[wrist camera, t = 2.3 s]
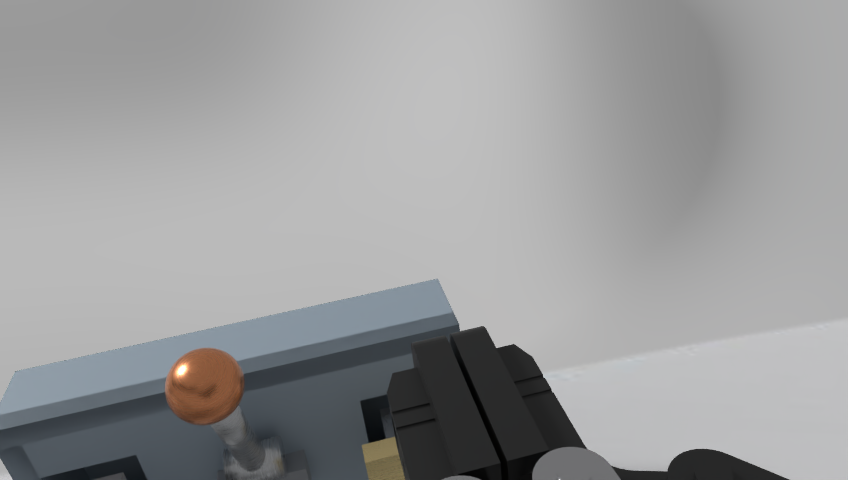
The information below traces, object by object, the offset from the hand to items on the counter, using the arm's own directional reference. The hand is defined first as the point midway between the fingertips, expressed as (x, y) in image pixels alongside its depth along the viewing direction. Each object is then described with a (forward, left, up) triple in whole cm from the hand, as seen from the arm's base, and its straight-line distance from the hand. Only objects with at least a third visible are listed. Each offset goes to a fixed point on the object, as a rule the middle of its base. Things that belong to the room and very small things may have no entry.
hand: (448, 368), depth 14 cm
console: (-9, +14, -22) cm, 28 cm away
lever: (-9, +11, -13) cm, 19 cm away
